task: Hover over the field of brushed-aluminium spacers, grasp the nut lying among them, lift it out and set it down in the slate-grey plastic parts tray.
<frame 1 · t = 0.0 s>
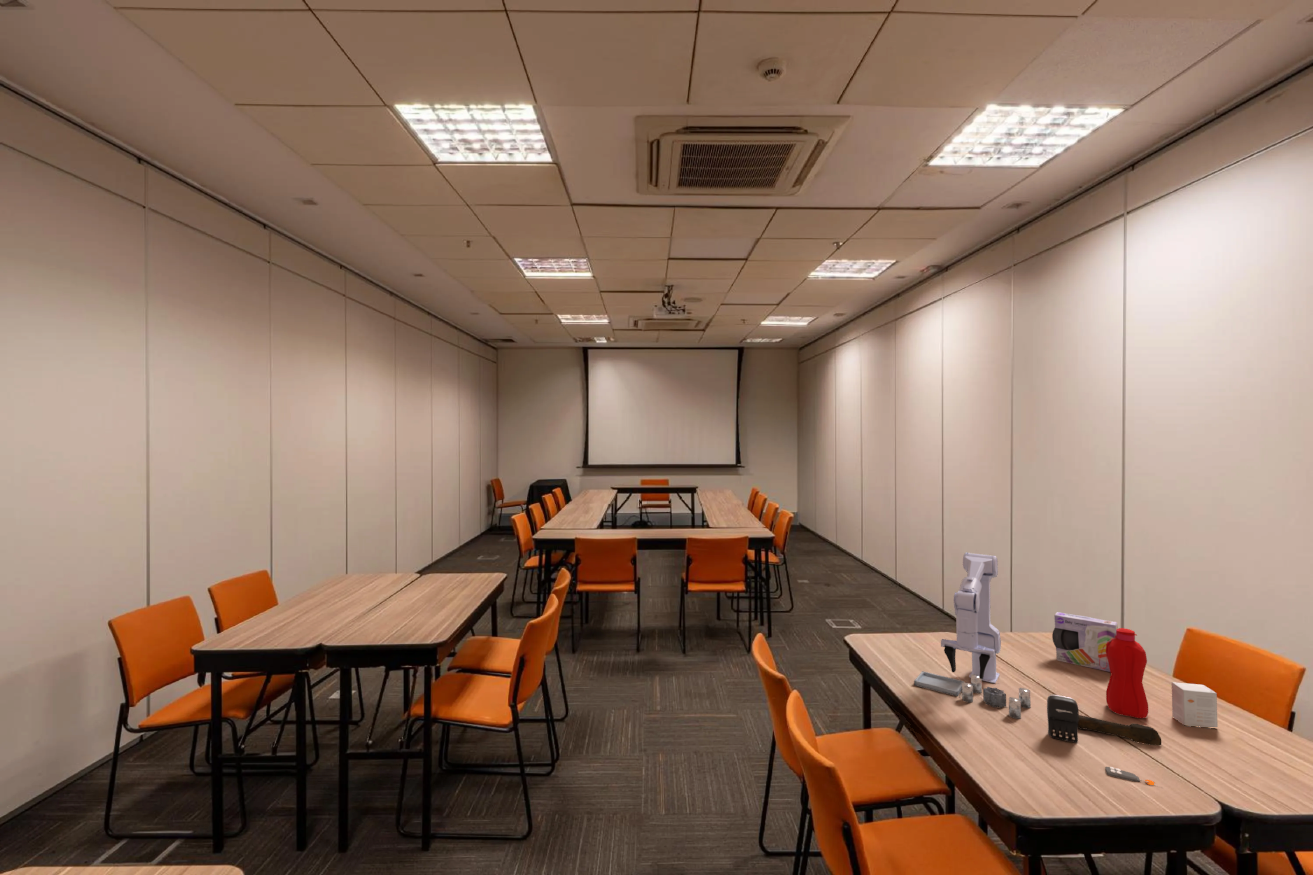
hand: (967, 674, 169), 10 cm above the table, fingers open, 7 cm apart
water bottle: (1123, 711, 165), on the table
spacer 3: (1014, 716, 163), on the table
battery charger: (1063, 739, 150), on the table
small box: (1194, 723, 158), on the table
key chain: (1140, 783, 132), on the table
spacer 1: (976, 691, 179), on the table
cake pan box: (1085, 665, 199), on the table
spacer 4: (967, 700, 173), on the table
tray: (939, 685, 184), on the table
dark brown bar: (1115, 736, 152), on the table
nut: (994, 703, 171), on the table
spacer 2: (1024, 705, 169), on the table
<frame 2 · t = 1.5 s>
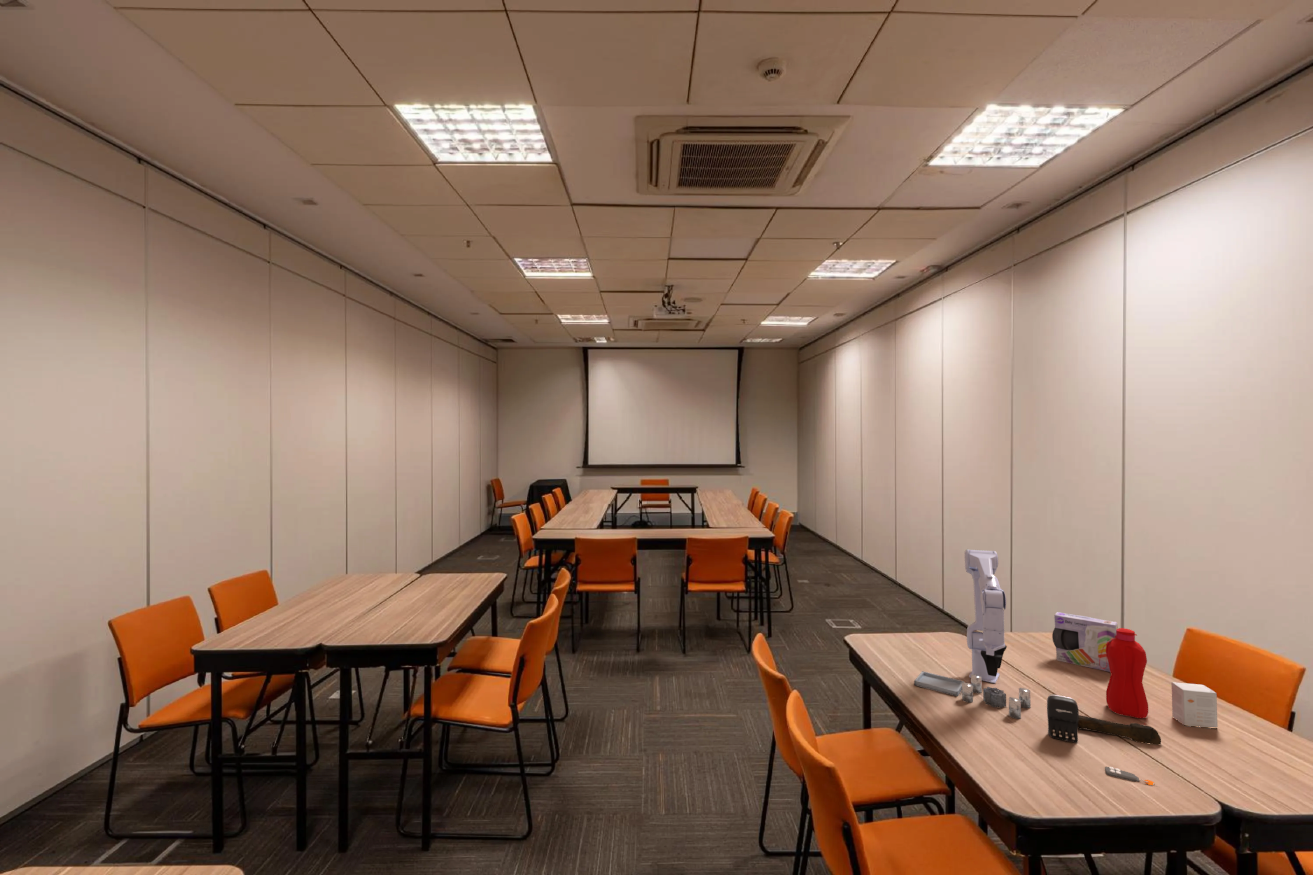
hand: (994, 671, 171), 10 cm above the table, fingers open, 7 cm apart
nothing on the table moved.
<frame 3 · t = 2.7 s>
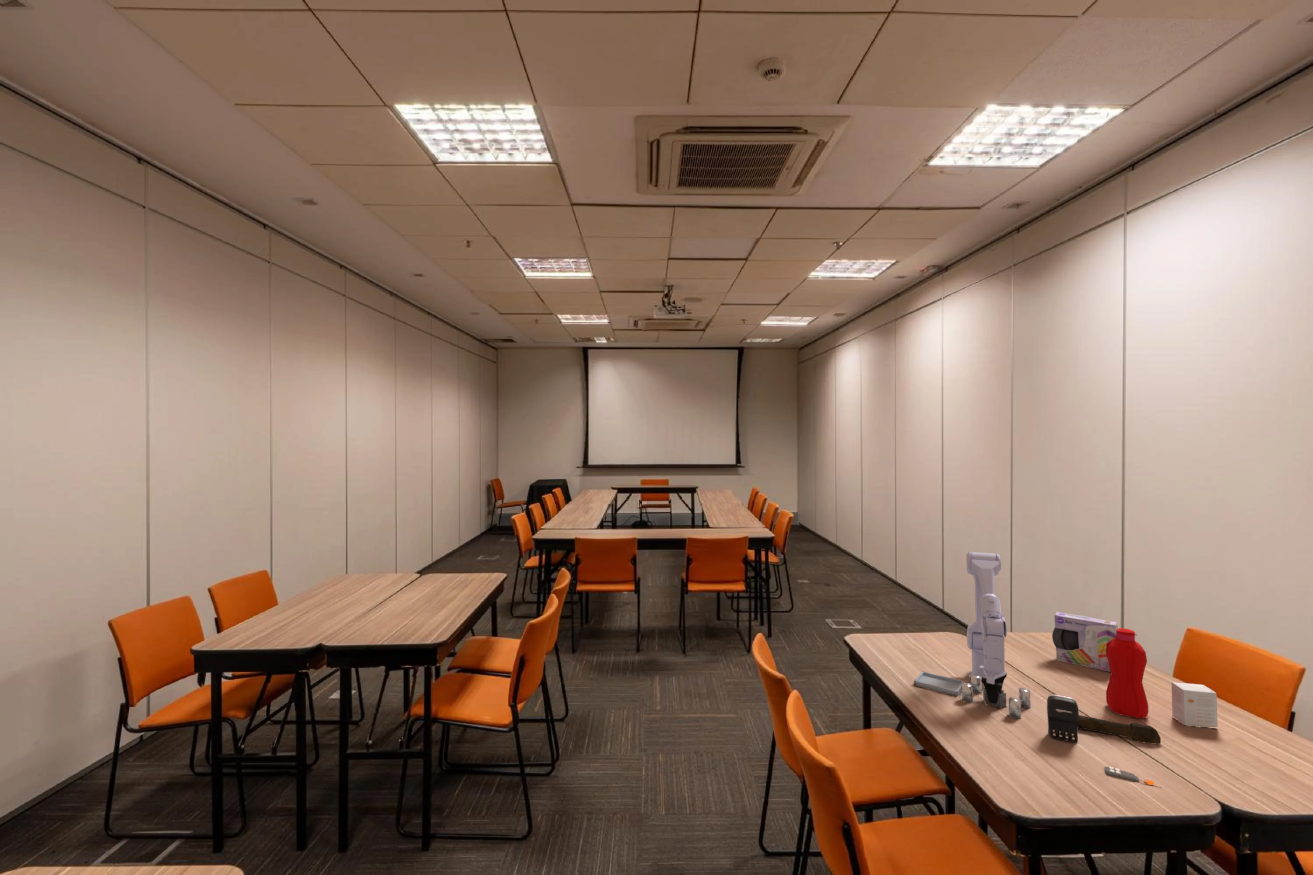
hand: (994, 698, 171), 1 cm above the table, fingers closed on nut, 6 cm apart
nut: (994, 703, 171), on the table, touching gripper
everything else where it was.
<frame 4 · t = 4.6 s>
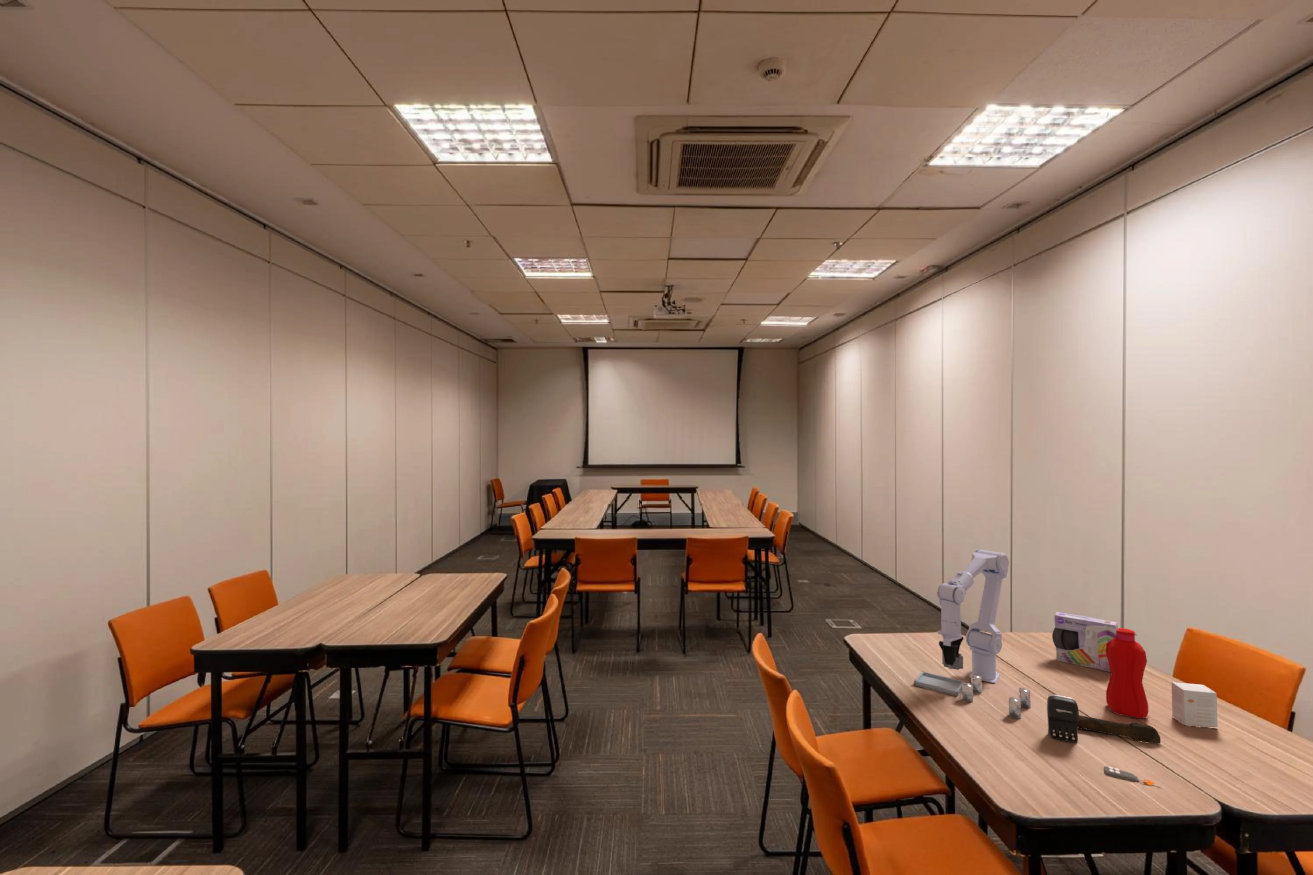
hand: (951, 661, 181), 9 cm above the table, fingers closed on nut, 6 cm apart
nut: (952, 666, 180), point 8 cm above the table, touching gripper
everything else where it was.
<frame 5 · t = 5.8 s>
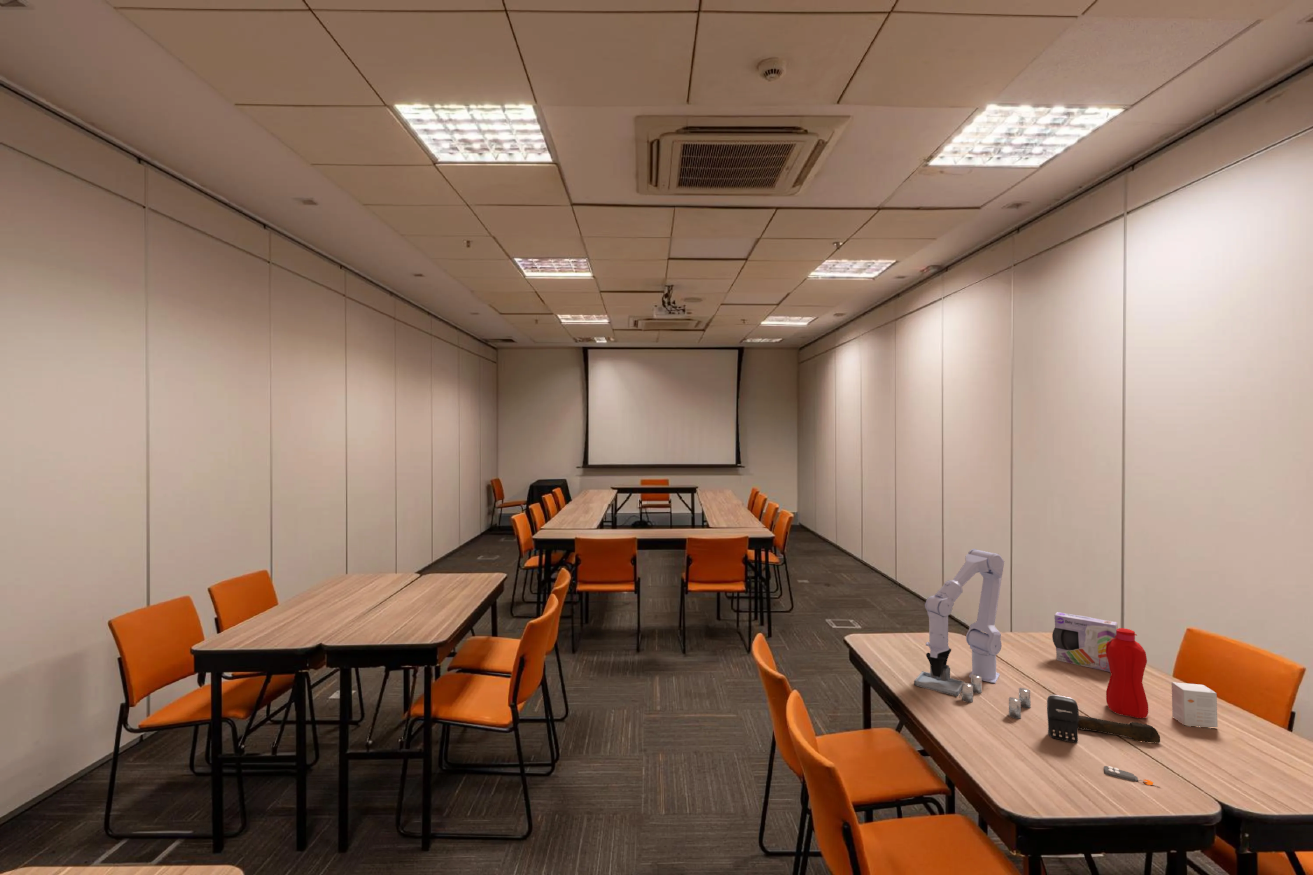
hand: (939, 672, 184), 4 cm above the table, fingers closed on nut, 6 cm apart
nut: (940, 677, 184), point 3 cm above the table, touching gripper
everything else where it was.
when the fingers open (3 cm above the table, at t = 6.8 s): nut stays where it is, resting on tray.
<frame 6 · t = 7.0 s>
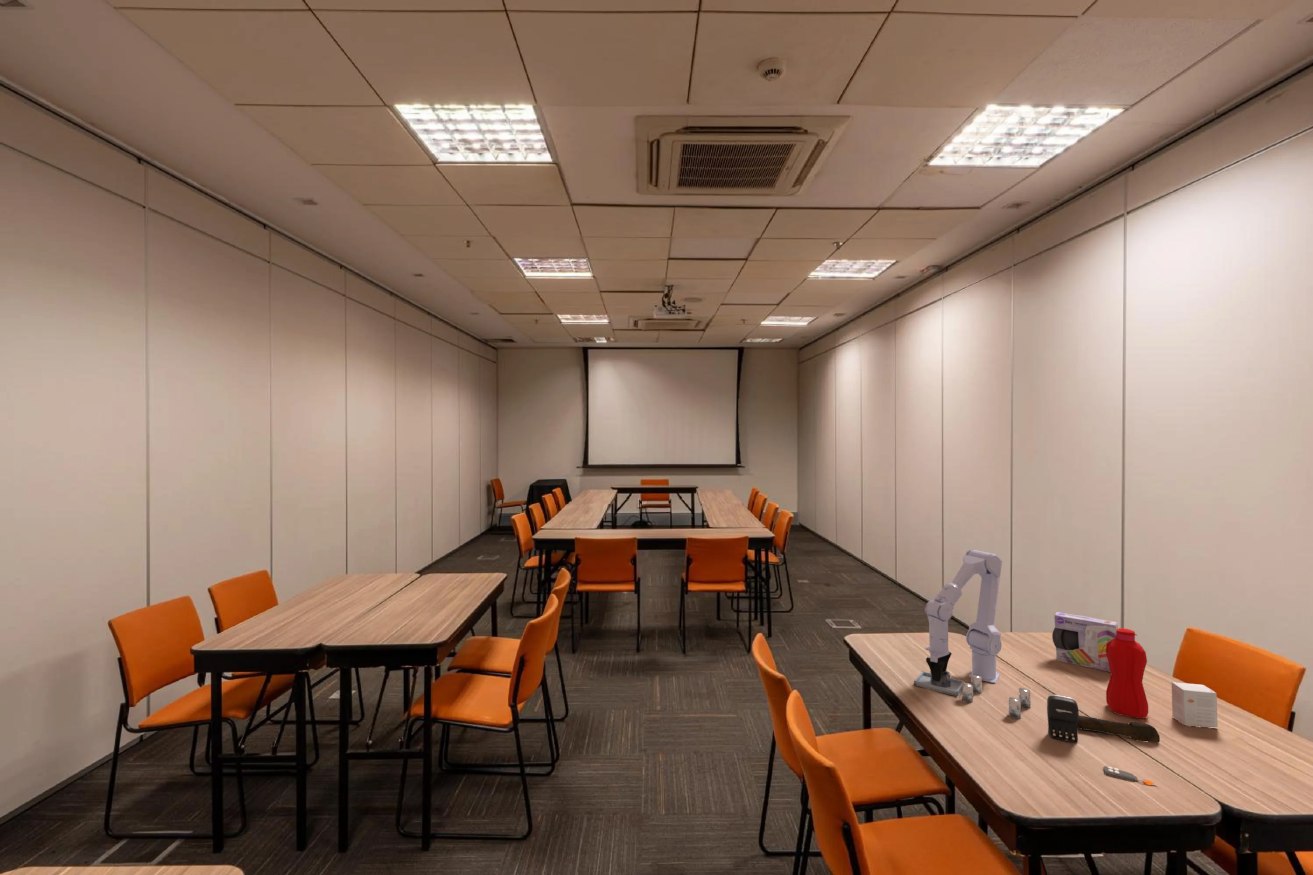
hand: (939, 676, 184), 3 cm above the table, fingers open, 7 cm apart
nut: (940, 684, 184), resting on tray
everything else where it was.
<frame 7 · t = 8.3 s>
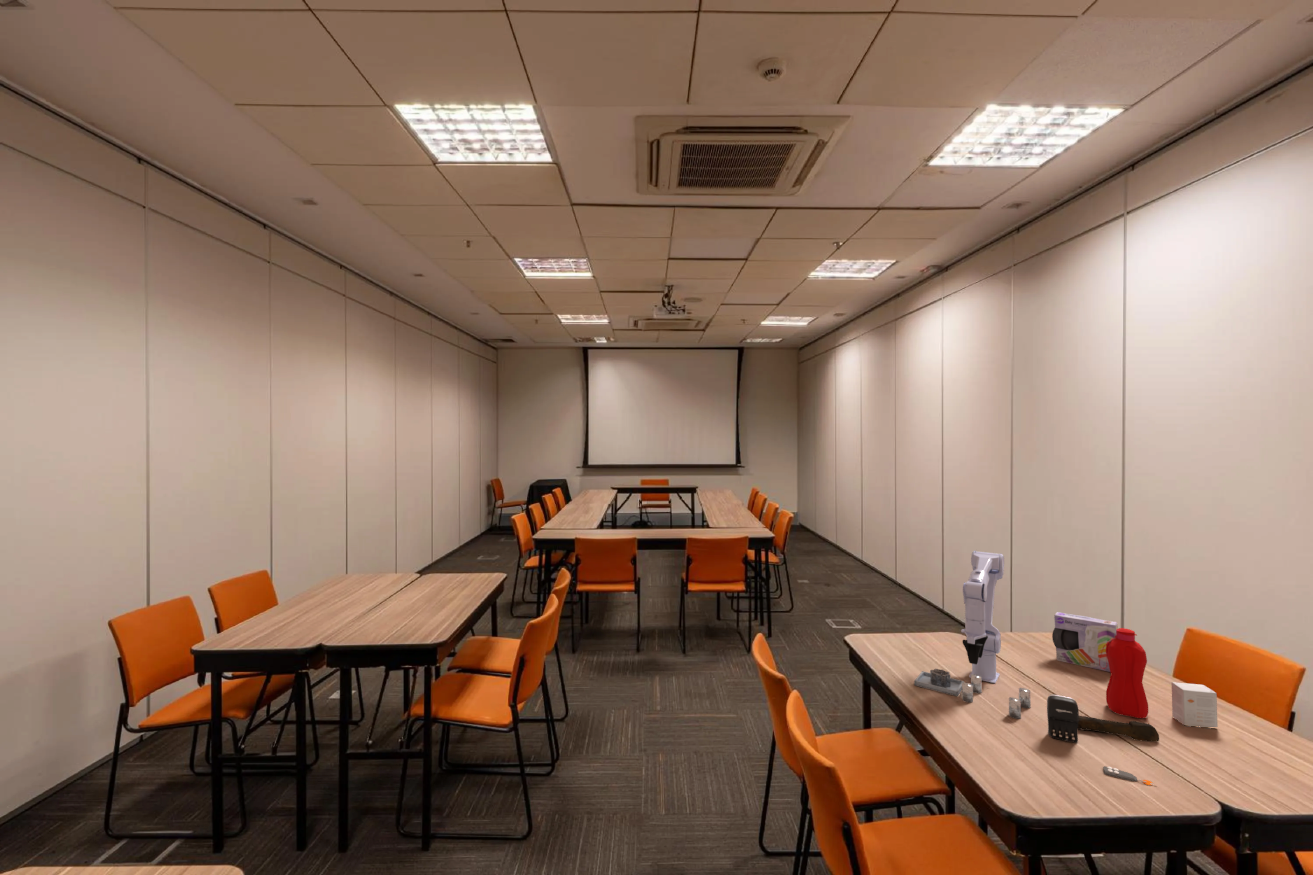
hand: (975, 660, 179), 10 cm above the table, fingers open, 7 cm apart
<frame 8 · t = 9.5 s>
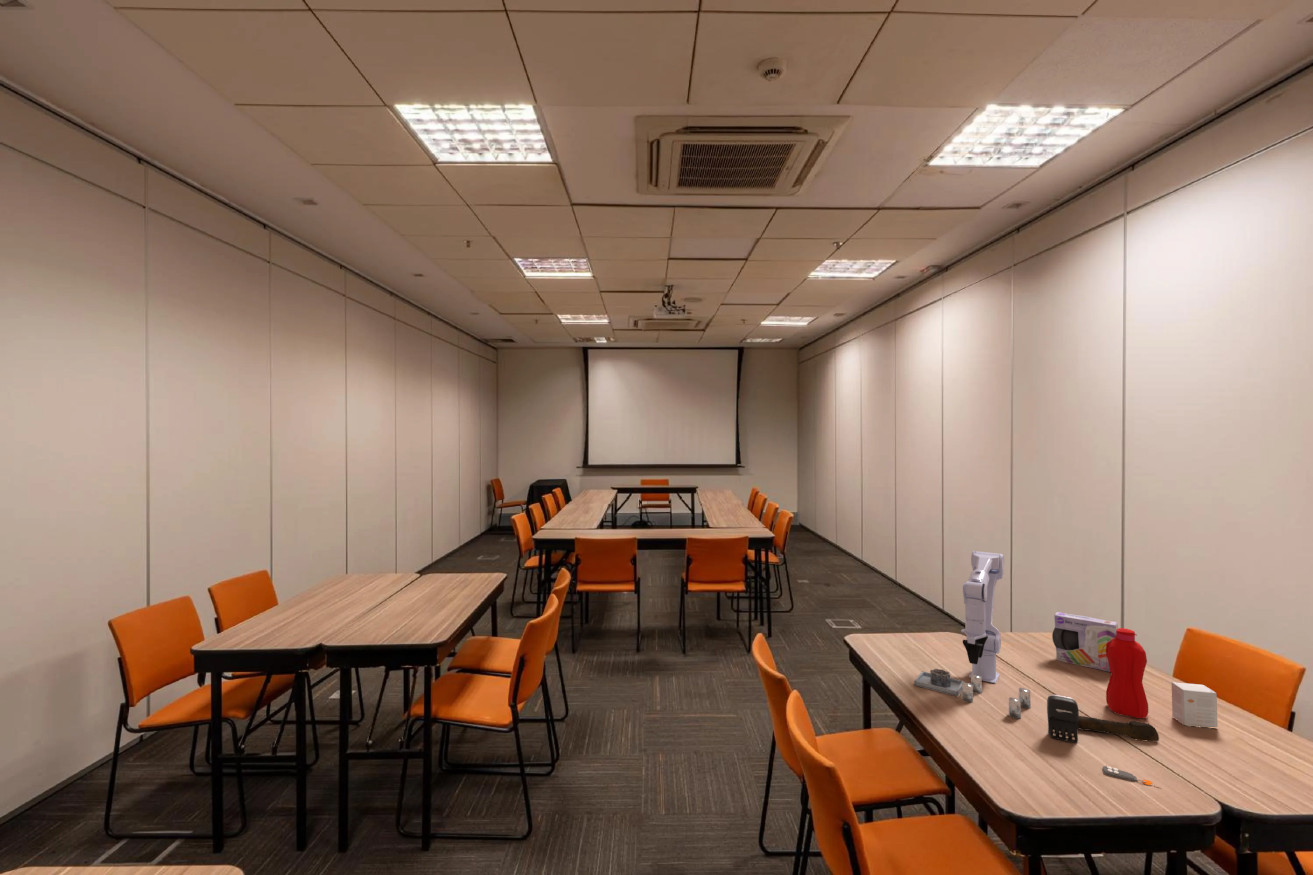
hand: (975, 660, 179), 10 cm above the table, fingers open, 7 cm apart
at the end: nut inside the target area on the tray (0.3 cm from its centre), point 0.5 cm above the tray's base; the gripper is holding nothing; nut moved 16.5 cm from its start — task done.
